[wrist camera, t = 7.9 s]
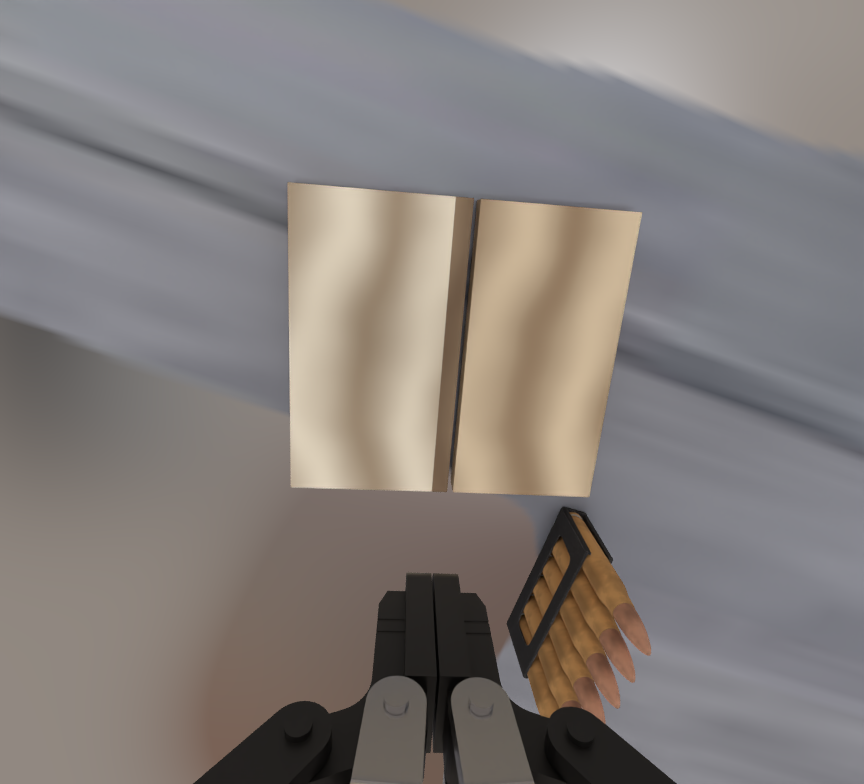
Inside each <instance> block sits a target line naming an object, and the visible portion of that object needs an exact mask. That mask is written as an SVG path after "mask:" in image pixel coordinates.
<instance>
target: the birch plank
mask: <svg viewBox="0 0 864 784" xmlns="http://www.w3.org/2000/svg"><path fill="white" fill-rule="evenodd" d="M473 203H474V198H465V197H453V196H441V195H430V194H418V193H406V192H395V191H383V190H371V189H360V188H348V187H336V186H325V185H313V184H302V183H290V182H288V269H289V362H290V447H291V449H290V451H291V452H290V453H291V487H295V488H330V489H332V488H333V489H363V490H399V491H433V492H447V486H448V475H449V464H450V453H451V442H452V431H453V420H454V409H455V399H456V388H457V377H458V366H459V355H460V344H461V333H462V323H463V312H464V301H465V290H466V279H467V268H468V257H469V246H470V236H471V225H472V214H473Z"/></svg>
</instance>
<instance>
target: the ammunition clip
mask: <svg viewBox="0 0 864 784" xmlns="http://www.w3.org/2000/svg"><path fill="white" fill-rule="evenodd" d="M612 561H613V558H612V557H611V555H610V553H609V552H608V550H607V548H606V547H605V545H604V543H603V542H602V540H601V538H600V537H599V535H598V533H597V532H596V530H595V528H594V527H593V525H592V523H591V522H590V520H589V518H588V517H587V515H586V513H583V512H579V511H576V510H573V509H569V508H566V507H563V508H561V510H560V512H559V514H558V517H557V519H556V521H555V523H554V525H553V527H552V529H551V531H550V533H549V535H548V538H547V540H546V542H545V544H544V546H543V548H542V550H541V552H540V554H539V556H538V558H537V560H536V562H535V565H534V567H533V569H532V571H531V573H530V575H529V577H528V579H527V581H526V583H525V586H524V588H523V590H522V592H521V594H520V596H519V598H518V600H517V602H516V605H515V607H514V609H513V611H512V613H511V615H510V617H509V619H508V621H507V626H508V629H509V633H510V636H511V639H512V642H513V645H514V649H515V652H516V655H517V658H518V661H519V665H520V668H521V671H522V674H523V677H524V678H529V681H530V685H531V688H532V691H533V695H534V698H535V702H536V705H537V708H538V711H539V713H540V715H541V716H544V717H547V718H550V716H551V715H552V713H553V712H555V711H556V710H557V709H560V708H563V707H577V708H581V706H582V708H583V709H584V710H586V711H588V712H590V713H592V714H593V715H595V716H596V717H597V718H599V719H600V720H601V721H602V722H603V723H605V716H604V711H603V706H602V703H601V700H600V697H599V694H598V691H597V689H596V686H595V684H594V682H595V683H596V685H597V687H598V688H599V690H600V691H601V693H602V694H603V695H604V697H605V698H606V699H607V700H608V701H609V703H610V704H611V705H613V706H614V707H615V708H617V709H618V708H619V707H620V695H619V690H618V686H617V682H616V679H615V676H614V673H613V671H612V668H611V666H610V664H609V662H608V660H607V656H608V657H609V659H610V660H611V662H612V663H613V665H614V666H615V667H616V668H617V670H618V671H619V672H620V673H621V674H622V675H623V676H624V677H625V678H626V679H627V680H629V681H630V682H632V683H633V682H635V670H634V666H633V662H632V659H631V656H630V653H629V650H628V648H627V646H626V643H625V641H624V639H623V638H622V636H621V633H620V631H619V629H618V627H617V625H616V622H617V623H618V625H619V627H620V628H621V630H622V631H623V632H624V634H625V635H626V637H627V638H628V639H629V640H630V641H631V642H632V643H633V644H634V645H635V646H636V647H637V648H638V649H639V650H640V651H641V652H642V653H644V654H646V655H648V656H649V655H650V654H651V646H650V642H649V638H648V635H647V632H646V629H645V627H644V625H643V623H642V621H641V619H640V617H639V615H638V613H637V612H636V610H635V608H634V606H633V604H632V602H631V600H630V598H629V597H628V594H627V591H626V588H625V586H624V584H623V582H622V581H621V579H620V578H619V576H618V574H617V573H616V571H615V570H614V568H613V567H612V565H611V563H612ZM615 620H616V622H615ZM603 648H604V649H603ZM604 650H605V651H604ZM605 652H606V654H607V656H606V654H605ZM527 675H528V676H527ZM582 708H581V709H582Z"/></svg>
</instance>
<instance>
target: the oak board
mask: <svg viewBox="0 0 864 784" xmlns="http://www.w3.org/2000/svg"><path fill="white" fill-rule="evenodd" d="M641 216H642V212H630V211H618V210H607V209H595V208H583V207H571V206H559V205H547V204H536V203H524V202H512V201H500V200H488V199H480V200H478V201H477V207H476V217H475V228H474V239H473V249H472V260H471V271H470V281H469V292H468V303H467V313H466V324H465V335H464V345H463V356H462V366H461V377H460V388H459V398H458V409H457V420H456V430H455V441H454V452H453V462H452V473H451V485H452V490H453V492H464V493H491V494H519V495H547V496H574V497H589V495H590V490H591V484H592V479H593V474H594V468H595V463H596V457H597V452H598V447H599V441H600V436H601V431H602V425H603V420H604V415H605V409H606V404H607V398H608V393H609V388H610V382H611V377H612V372H613V366H614V361H615V356H616V350H617V345H618V339H619V334H620V329H621V323H622V318H623V313H624V307H625V302H626V297H627V291H628V286H629V280H630V275H631V270H632V264H633V259H634V254H635V248H636V243H637V237H638V232H639V227H640V221H641Z"/></svg>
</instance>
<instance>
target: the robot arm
mask: <svg viewBox="0 0 864 784" xmlns="http://www.w3.org/2000/svg"><path fill="white" fill-rule="evenodd" d="M432 735H433V752H434V753H443V759H444V776H443V784H676V783H675V782H674V781H673V780H672V779H670V778H669V777H668V776H667V775H666V774H664V773H663V772H662V771H661V770H660V769H658V768H657V767H656V766H655V765H654V764H652V763H651V762H650V761H649V760H648V759H646V758H645V757H644V756H643V755H642V754H640V753H639V752H638V751H637V750H636V749H634V748H633V747H632V746H631V745H630V744H628V743H627V742H626V741H625V740H624V739H622V738H621V737H620V736H619V735H618V734H617V733H615V732H614V731H613V730H612V729H611V728H609V727H608V726H607V725H606V724H605V723H603V722H602V721H601V720H600V719H599V718H597V717H596V716H595V715H593V714H592V713H590V712H588V711H586V710H584V709H581V708H577V707H563V708H560V709H557V710H556V711H555V712H553V713H552V715H551V716H550V718H547V717H544V716H541V715H538V714H535V713H532V712H529V711H527V710H525V709H523V708H521V707H519V706H518V705H516V704H515V703H514V702H513V701H512V700H510V698H509V697H508V695H507V693H506V692H505V691H504V689H503V688H502V686H501V682H500V678H499V673H498V668H497V663H496V658H495V653H494V647H493V642H492V638H491V632H490V627H489V624H488V617H487V612H486V607H485V605H484V604H483V602H482V601H481V600H480V598H479V597H478V596H477V594H476V593H460V585H459V578H458V575H457V574H435V573H434V574H433V576H432V577H431V573H407V574H406V590H405V591H387V593H386V594H385V596H384V597H383V599H382V600H381V602H380V603H379V610H378V621H377V633H376V642H375V653H374V663H373V674H372V682H371V685H370V688H369V690H368V692H367V693H366V694H365V696H364V697H363V698H362V699H361V700H360V701H359V702H357V703H356V704H354V705H353V706H351V707H349V708H346V709H343V710H340V711H337V712H333V713H330V714H329V713H328V712H327V710H326V709H325V708H324V707H322V706H321V705H319V704H317V703H315V702H310V701H300V702H295V703H292V704H289V705H287V706H285V707H283V708H282V709H281V710H279V711H278V712H277V713H275V714H274V715H273V716H272V717H271V718H270V719H268V720H267V721H266V722H265V723H264V724H263V725H261V726H260V727H259V728H258V729H257V730H255V731H254V732H253V733H252V734H251V735H250V736H249V737H247V738H246V739H245V740H244V741H243V742H241V744H239V745H238V746H237V747H236V748H234V749H233V750H232V751H231V752H230V753H229V754H227V755H226V756H225V757H224V758H223V759H222V760H220V761H219V762H218V763H217V764H216V765H215V766H214V767H212V768H211V769H210V770H209V771H208V772H206V773H205V774H204V775H203V776H202V777H201V778H199V779H198V780H197V781H196V782H195V783H193V784H422V782H423V778H424V768H425V756H426V753H430V751H431V740H432V739H431V738H432Z"/></svg>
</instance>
